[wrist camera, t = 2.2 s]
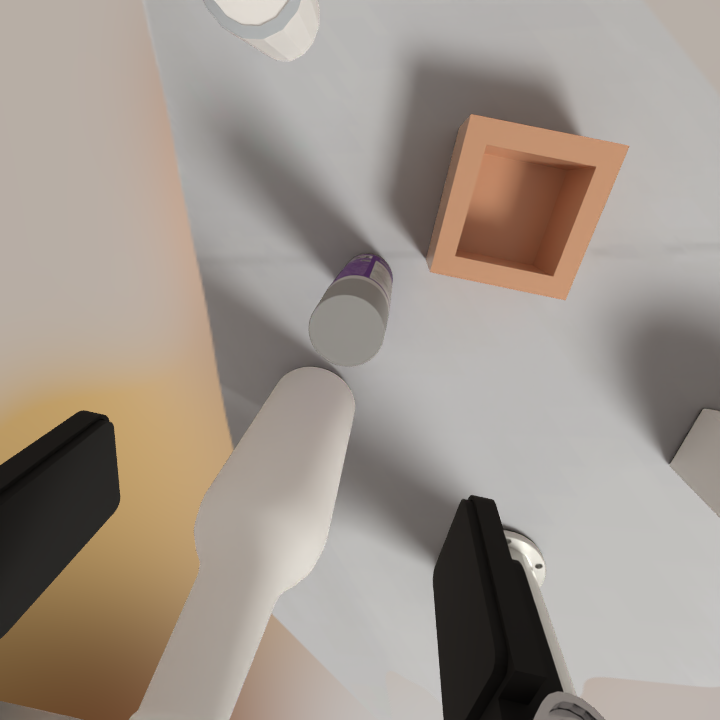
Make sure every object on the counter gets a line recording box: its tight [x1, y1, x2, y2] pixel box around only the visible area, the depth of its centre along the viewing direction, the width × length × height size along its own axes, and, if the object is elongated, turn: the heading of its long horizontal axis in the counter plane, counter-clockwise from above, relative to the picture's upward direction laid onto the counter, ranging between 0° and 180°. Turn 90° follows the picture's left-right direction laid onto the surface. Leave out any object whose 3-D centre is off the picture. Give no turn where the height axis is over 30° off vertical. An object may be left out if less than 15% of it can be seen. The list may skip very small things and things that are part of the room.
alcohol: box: [129, 367, 355, 720], centre depth 28 cm, size 9×9×30 cm
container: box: [309, 254, 393, 367], centre depth 29 cm, size 5×5×15 cm
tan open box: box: [426, 114, 629, 300], centre depth 30 cm, size 10×10×6 cm
